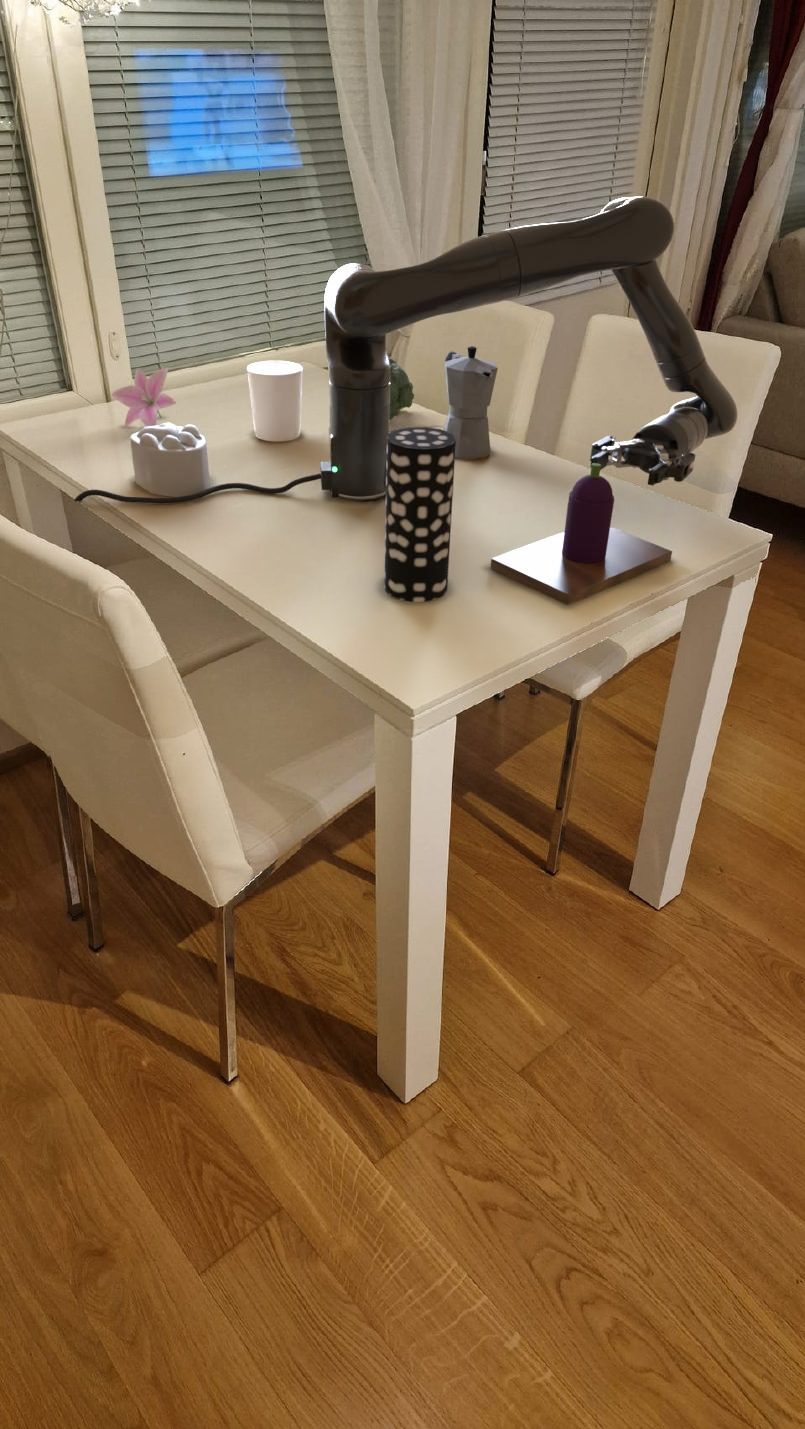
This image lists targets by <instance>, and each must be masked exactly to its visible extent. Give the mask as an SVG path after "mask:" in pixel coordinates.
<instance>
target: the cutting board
mask: <svg viewBox="0 0 805 1429" xmlns="http://www.w3.org/2000/svg"><path fill="white" fill-rule="evenodd" d="M564 532H565V531H562V532H559V533H557V534H554V535H551V536H549V537H546V538H543V539H540V540H538V541H534V542H532V543H530V544H527V545H524V546H521V547H519V548H516V549H512V550H510V551H508V552H505V553H502V554H499V555H496V556H494V557H491V559H490V569H491V570H493V571H495V572H498V573H499V574H500V575H501V574H502V575H503V576H505V577H508V578H510V579H511V580H514V581H516V582H518V583H520V584H522V585H525V586H527V587H529V588H530V589H533V590H535V591H537V592H539V593H541V594H543V595H545V596H547V597H550V598H552V599H554V600H555V601H558V602H560V603H562V604H564V605H566V606H569V605H572V604H574V603H576V602H579V601H581V600H583V599H585V598H588V597H591V596H593V595H595V594H597V593H600V592H602V591H604V590H606V589H608V588H611V587H613V586H616V585H618V584H621V583H622V582H625V581H627V580H629V579H632V578H635V577H636V576H639V575H641V574H643V573H647V572H648V571H650V570H652V569H655V568H657V567H660V566H663V565H664V564H667V563H669V562H671V560H672V554H673V550H670V549H668V548H665V547H663V546H661V545H658V544H655V543H653V542H650V541H648V540H645V539H643V538H640V537H637V536H635V535H632V534H630V533H627V532H626V531H622V530H620V529H617V528H615V527H613V526H610V531H609V537H608V544H607V550H606V557H605V559H604V560H603V561H601V562H597V563H578V562H574V561H571V560H569V559H567V558H565V557H564V556H563V554H562V548H563V540H564Z"/></svg>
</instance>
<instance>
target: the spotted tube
mask: <svg viewBox="0 0 805 1429" xmlns="http://www.w3.org/2000/svg"><path fill="white" fill-rule="evenodd" d="M455 446H456V438H455V436H454V435H453V434H451V433H449V432H447V431H444V429H441V428H436V427H430V426H429V427H428V426H409V427H402V428H397V429H394V430H392V431H389V434H388V435H387V462H386V495H385V521H384V522H385V524H384V526H385V527H384V528H385V529H384V573H383V574H384V575H383V576H384V578H383V580H384V581H383V589H384V591H385V592H386V594H388V595H389V596H390V597H392V598H394V599H398V600H400V601H404V602H411V603H425V602H430V601H434V600H437V599H438V600H439V599H440V598H442V597H443V596H445V595H446V593H447V591H448V584H449V583H448V582H449V565H450V547H451V531H452V530H451V529H452V514H453V496H454V480H455V462H456V461H455V460H456V458H455Z"/></svg>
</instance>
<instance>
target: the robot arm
mask: <svg viewBox="0 0 805 1429" xmlns="http://www.w3.org/2000/svg"><path fill="white" fill-rule="evenodd" d="M674 233H675V222H674V218H673V214H672V213H671V211H670V210H669V208H668V206H666V205H665V204H664V203H662V202H661V201H659V200H657V199H656V198H652V197H651V196H650V197H649V196H642V195H641V196H630V197H629V196H628V197H621V198H618V199H615V200H612V201H610V202H609V203H608V204H606V205H605V206H604V208H603V209H601V211H600V213H598V214H595V215H592V216H588V217H585V218H581V219H578V220H572V221H571V220H570V221H562V222H561V221H560V222H550V223H539V224H530V225H523V226H518V227H512V228H508V229H504V230H503V229H502V230H500V231H495V232H492V233H487V234H484V235H481V236H476V237H473V238H470V239H469V240H466V241H464V242H462V243H460V244H458V245H456V246H454V247H453V248H450V249H449V250H447V251H445V252H444V253H442V254H440V255H438V256H436V257H434V258H432V259H430V260H428V261H425V262H422V263H420V264H419V263H418V264H415V265H411V266H406V267H401V268H395V269H389V270H381V271H380V270H379V271H377V270H375V269H374V268H372V267H371V266H369V265H367V264H363V263H357V262H354V263H347V264H345V265H343V266H341V267H339V268H338V269H337V270H335V271H334V273H332V275H331V276H330V278H329V280H328V282H327V285H326V288H325V292H324V329H325V331H324V332H325V355H326V362H327V368H328V388H329V389H328V393H329V394H328V396H329V397H328V398H329V427H328V445H329V446H328V450H329V451H328V453H329V455H328V456H329V458H328V459H329V461H320V463H319V464H320V466H319V467H320V472H319V473H315V474H311V475H306V476H303V477H299V478H296V479H294V480H292V481H290V482H289V483H287V484H285V485H284V486H280V487H264V486H260V485H256V484H250V483H246V482H228V483H221V484H217V485H213V486H210V488H208V489H206V490H203V491H201V492H198V493H195V494H192V495H188V496H182V497H173V496H171V497H145V496H127V495H121V494H117V493H114V492H110V491H107V490H102V489H88V490H85V491H82V492H81V493H79V494H78V495H77V496H76V497H75V498H74V500H73V501H74V502H82V501H83V500H84V499H86V498H88V497H91V496H99V497H103V498H108V499H111V500H115V501H118V502H123V503H133V504H155V505H158V504H161V505H162V504H164V505H165V504H180V503H186V502H192V501H196V500H199V499H201V498H204V497H206V496H209V495H211V494H213V493H216V492H220V491H224V490H231V489H241V490H248V491H252V492H257V493H262V494H269V495H270V494H271V495H272V494H283V493H286V492H288V491H289V490H292V489H293V488H294V487H296V486H298V485H301V484H305V483H307V482H313V481H317V480H320V486H321V491H330V498H333V499H334V498H335V499H342V500H346V501H354V502H366V501H367V502H368V501H373V500H379V499H381V498H383V497H386V462H387V435H388V434H389V433H390V421H389V415H390V363H389V359H388V357H389V356H388V355H389V354H388V348H387V334H390V333H393V332H395V331H398V330H400V329H404V328H405V327H408V326H410V325H413V324H415V323H418V322H422V321H424V320H426V319H429V318H433V317H436V316H437V317H438V316H441V315H446V314H453V313H457V312H458V313H459V312H462V311H468V310H471V309H475V308H480V307H484V306H488V305H489V306H490V305H493V304H497V303H501V302H504V301H509V300H512V299H516V298H520V297H523V296H526V295H529V294H533V293H536V292H539V291H542V290H545V289H549V288H551V287H554V286H557V285H560V284H563V283H565V282H567V281H570V280H573V279H576V278H579V277H582V276H586V275H590V274H594V273H599V272H605V271H611V272H612V275H613V276H614V278H615V279H616V281H617V282H618V284H619V285H620V288H621V289H622V291H623V293H624V295H625V297H626V299H627V300H628V302H629V304H630V306H631V308H632V310H633V312H634V314H635V317H636V318H637V320H638V322H639V324H640V326H641V329H642V331H643V333H644V335H645V337H646V340H647V343H648V345H649V348H650V349H651V352H652V356H653V357H654V361H655V363H656V365H657V368H658V370H659V373H660V375H661V377H662V381H663V382H664V386H665V387H666V388H667V390H668V391H670V392H671V393H690V394H691V393H692V394H694V395H696V396H693V397H691V398H690V397H689V398H687V399H683V400H681V401H678V402H677V403H675V404H673V405H672V406H671V407H670V409H669V411H668V413H667V414H664V415H661V416H659V417H657V418H656V419H654V420H652V421H651V422H649V423H647V424H646V425H644V426H643V427H641V428H639V430H638V431H637V432H636V433H635V434H634V436H633V437H632V438H631V440H626V441H620V442H619V441H618V442H616V436H614V435H608V436H605V437H602V438H601V439H599V440H597V441H595V442H593V443H592V444H591V450H590V457H589V461H590V466H589V468H590V469H591V465H592V464H593V463H598V464H600V465H601V467H600V471H601V470H603V469H605V468H606V467H608V466H614V468H615V467H616V468H617V469H620V468H621V469H622V468H633V469H637V468H638V469H640V470H641V471H642V472H644V473H646V474H648V478H647V485H648V486H652V487H653V486H655V485H656V484H660V483H662V482H663V481H669V480H670V478H673V481H674V482H676V483H681V482H683V481H684V480H685V479H686V478H687V477H688V476H689V475H691V474H692V473H693V470H694V465H695V459H696V454H695V453H693V452H694V451H695V450H696V449H698V448H699V447H700V446H701V445H702V444H703V443H704V442H705V440H707V439H711V438H715V437H718V436H722V435H726V434H728V433H730V432H732V430H733V429H734V428H735V426H736V424H737V420H738V407H737V405H736V402H735V400H734V398H733V396H732V394H731V393H730V391H728V389H727V388H726V387H725V385H724V384H723V383H722V382H721V380H720V379H719V378H718V377H717V375H716V373H715V372H714V371H713V369H712V368H711V366H710V364H708V360H707V358H706V356H705V353H704V350H703V348H702V345H701V342H700V339H699V337H698V334H697V331H696V329H695V328H694V326H693V323H692V322H691V321H690V319H689V317H688V315H687V314H686V312H685V311H684V309H683V308H682V306H681V305H680V303H679V301H678V300H677V299H676V297H675V296H674V294H673V293H672V291H671V290H670V288H669V286H668V285H667V283H666V282H667V281H666V279H664V276H663V274H662V272H661V269H660V267H659V264H658V262H657V260H658V259H659V258H660V257H661V256H662V255H663V254H664V253H665V252H666V251H667V249H668V248H669V246H670V244H671V243H672V239H673V237H674ZM609 457H612V458H609ZM622 458H623V460H622Z"/></svg>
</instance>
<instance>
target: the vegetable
mask: <svg viewBox="0 0 805 1429" xmlns="http://www.w3.org/2000/svg"><path fill="white" fill-rule="evenodd" d="M388 359H389V363H390V415H389V422H390V421H391V420H392V419H393V418H394V417H396V416H397V415H398V414H399V411H402V410H403V409H405V408H408V409H409V408H411V407H412V405H413V400H414V398H415V393H414V392H413V389H414V386H413V383H412V382H411V381H410V378H409V375H408V373H407V372H406V370H405V369H404V368H403V367H402V366H400V365H399V364H398V363H397V361H396V360H394V359H393V358H392V357H390V356H388Z"/></svg>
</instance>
